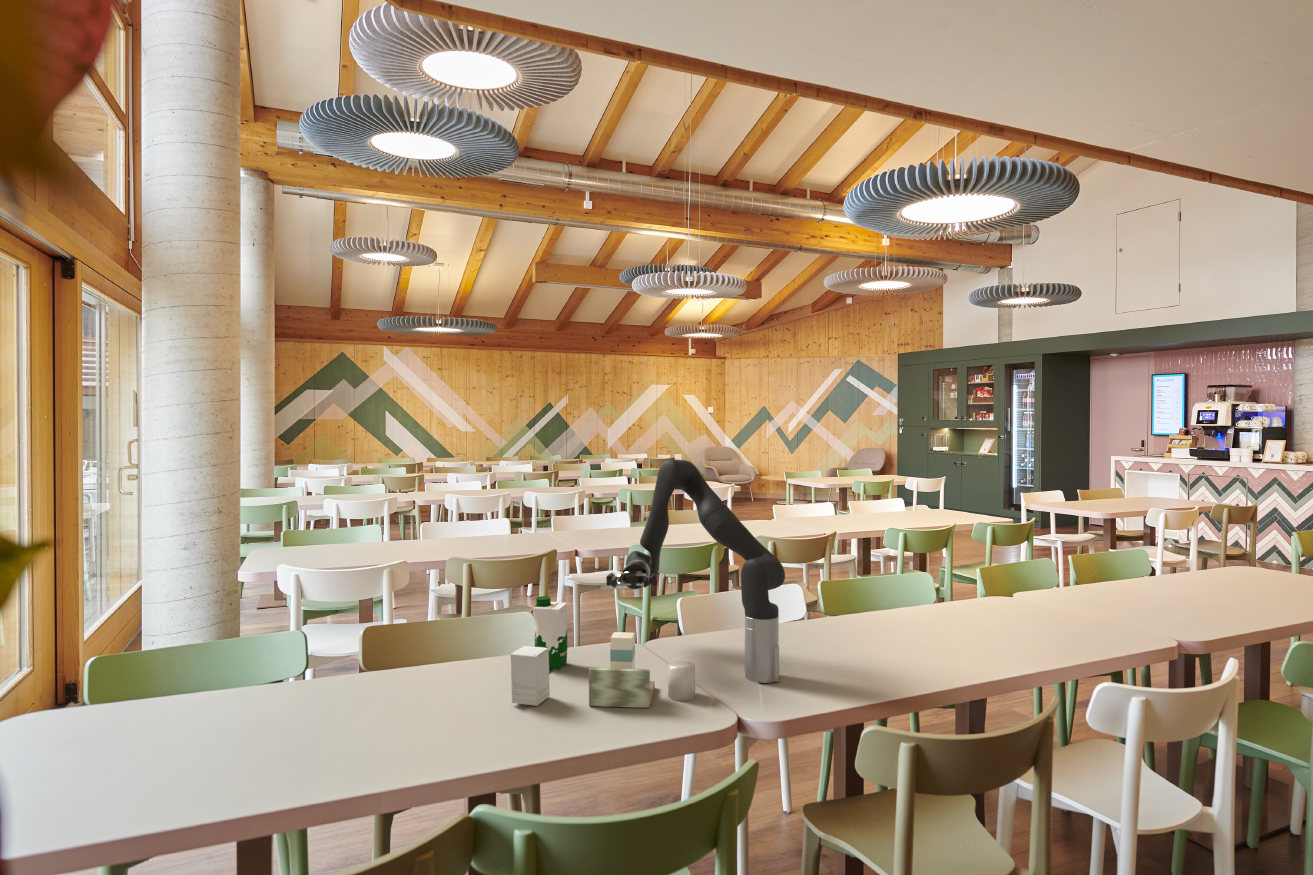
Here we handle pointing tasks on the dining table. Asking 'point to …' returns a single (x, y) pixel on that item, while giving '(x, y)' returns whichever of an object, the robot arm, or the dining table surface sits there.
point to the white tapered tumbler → (681, 681)
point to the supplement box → (530, 675)
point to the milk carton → (551, 630)
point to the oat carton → (622, 650)
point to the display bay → (620, 687)
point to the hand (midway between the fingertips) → (629, 583)
